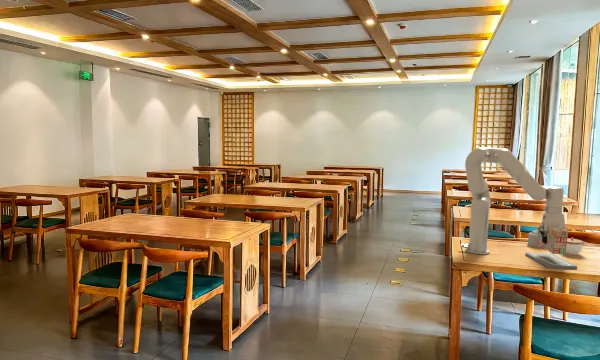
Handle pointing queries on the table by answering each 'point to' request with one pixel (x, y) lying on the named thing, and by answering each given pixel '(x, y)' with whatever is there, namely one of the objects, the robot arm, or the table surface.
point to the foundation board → (551, 260)
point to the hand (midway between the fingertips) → (551, 243)
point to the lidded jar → (573, 246)
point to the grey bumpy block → (533, 239)
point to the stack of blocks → (554, 240)
